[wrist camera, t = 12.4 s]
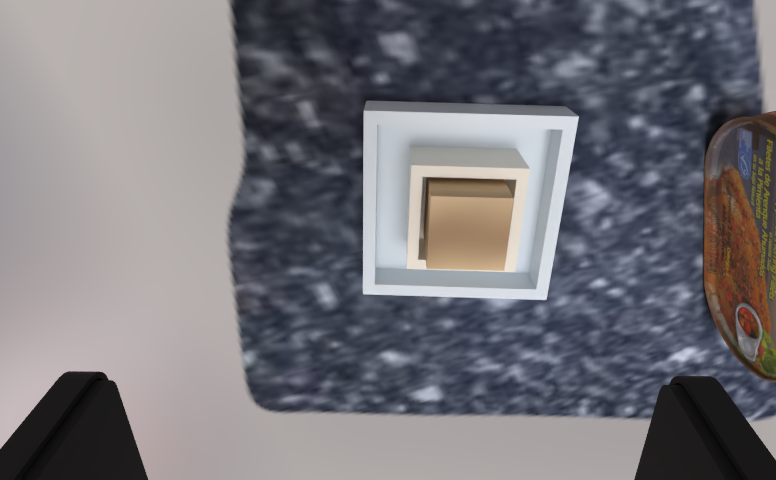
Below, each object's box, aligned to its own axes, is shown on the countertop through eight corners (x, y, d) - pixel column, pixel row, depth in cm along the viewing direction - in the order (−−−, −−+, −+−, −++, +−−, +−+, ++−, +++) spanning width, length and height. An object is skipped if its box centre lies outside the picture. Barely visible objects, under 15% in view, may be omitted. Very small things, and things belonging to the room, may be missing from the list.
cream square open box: (410, 145, 31) (411, 165, 27) (516, 148, 31) (530, 168, 27) (406, 241, 33) (406, 269, 30) (504, 244, 33) (514, 272, 30)
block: (426, 166, 30) (430, 196, 26) (498, 168, 30) (513, 198, 26) (423, 231, 32) (426, 268, 28) (491, 233, 32) (504, 270, 28)
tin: (704, 102, 30) (807, 145, 22) (764, 89, 29) (890, 128, 22) (701, 324, 36) (780, 417, 29) (750, 316, 36) (844, 407, 28)
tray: (366, 100, 30) (363, 110, 28) (565, 106, 30) (578, 116, 28) (365, 273, 35) (363, 294, 33) (537, 279, 35) (546, 299, 33)
